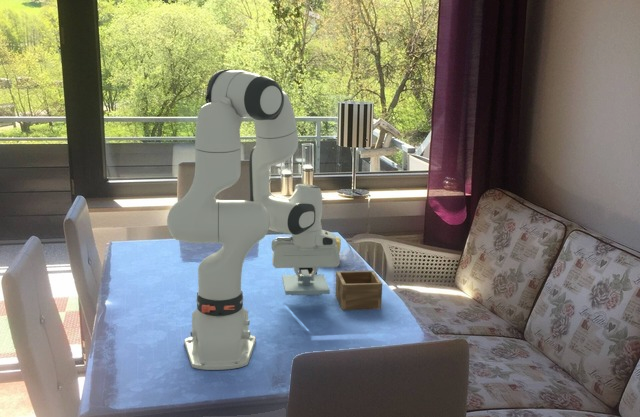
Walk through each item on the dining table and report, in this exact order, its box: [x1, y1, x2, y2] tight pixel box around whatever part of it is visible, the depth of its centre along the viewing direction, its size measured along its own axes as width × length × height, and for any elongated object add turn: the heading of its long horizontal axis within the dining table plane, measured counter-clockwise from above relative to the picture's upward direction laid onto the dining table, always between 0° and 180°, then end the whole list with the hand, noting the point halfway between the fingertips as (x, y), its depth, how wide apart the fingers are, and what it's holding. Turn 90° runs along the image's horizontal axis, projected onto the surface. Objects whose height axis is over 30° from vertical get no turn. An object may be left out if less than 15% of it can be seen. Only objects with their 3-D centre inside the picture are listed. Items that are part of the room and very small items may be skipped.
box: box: [335, 270, 383, 311], centre depth 198 cm, size 12×12×9 cm
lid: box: [281, 270, 330, 296], centre depth 194 cm, size 13×13×5 cm
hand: (305, 280), depth 194 cm, fingers closed on lid
